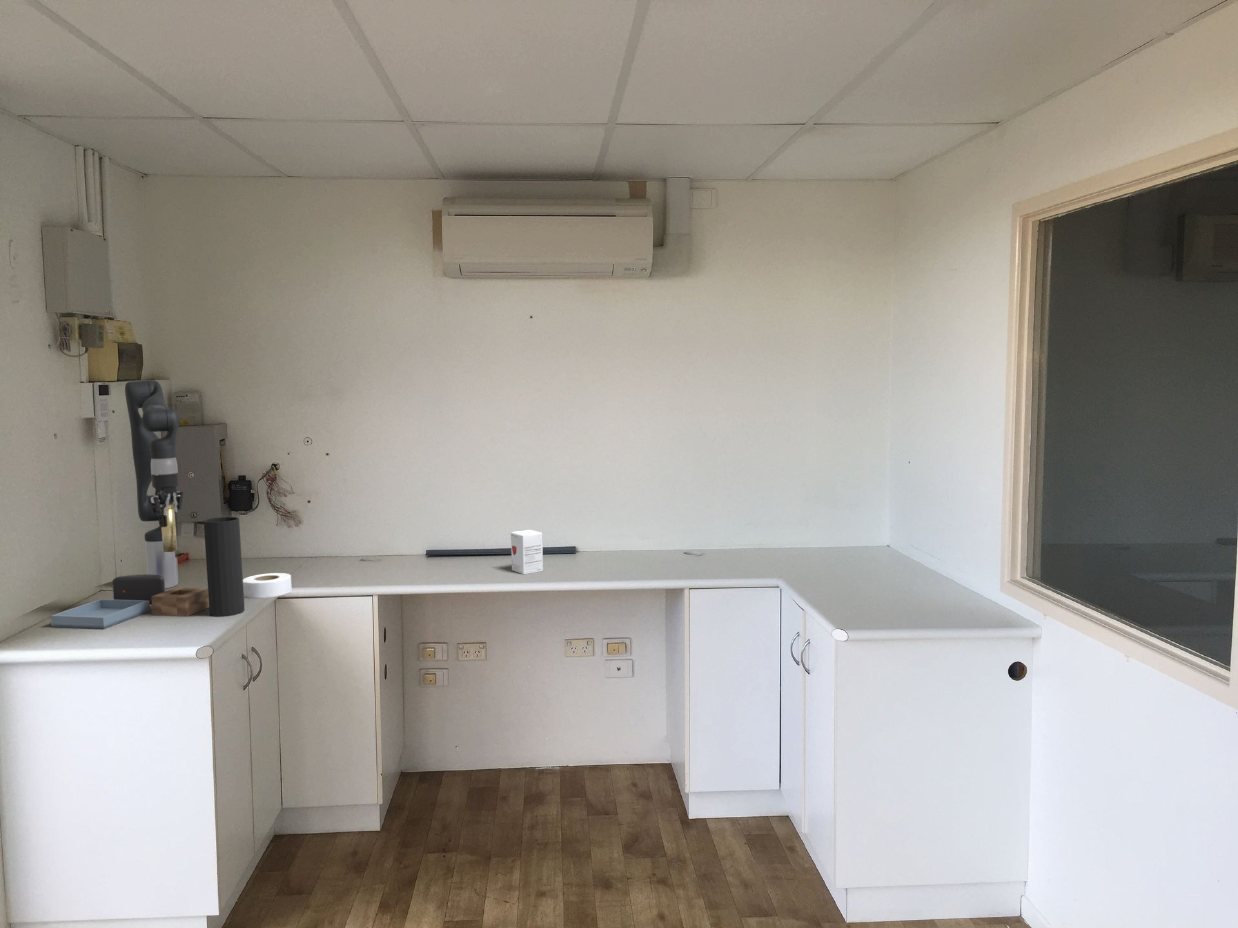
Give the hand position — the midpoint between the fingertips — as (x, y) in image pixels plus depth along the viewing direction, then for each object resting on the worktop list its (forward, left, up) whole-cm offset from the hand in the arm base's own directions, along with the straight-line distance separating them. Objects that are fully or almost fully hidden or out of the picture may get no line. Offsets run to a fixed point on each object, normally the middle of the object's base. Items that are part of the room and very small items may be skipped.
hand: (168, 525), depth 281 cm
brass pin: (0, 0, -8) cm, 8 cm away
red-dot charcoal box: (-7, -18, -28) cm, 34 cm away
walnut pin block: (-1, +2, -28) cm, 28 cm away
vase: (-1, +18, -28) cm, 34 cm away
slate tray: (+11, -17, -28) cm, 35 cm away
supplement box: (-69, +98, -28) cm, 123 cm away
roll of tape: (-26, +17, -29) cm, 42 cm away
